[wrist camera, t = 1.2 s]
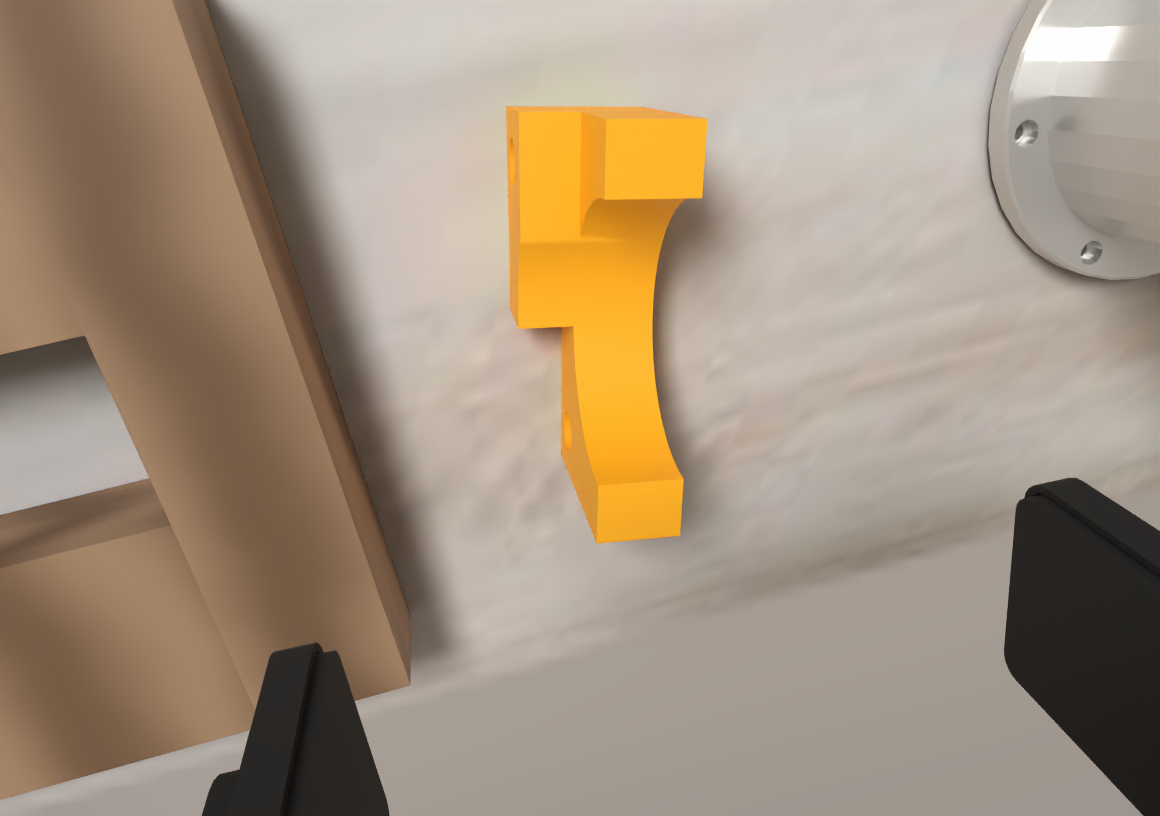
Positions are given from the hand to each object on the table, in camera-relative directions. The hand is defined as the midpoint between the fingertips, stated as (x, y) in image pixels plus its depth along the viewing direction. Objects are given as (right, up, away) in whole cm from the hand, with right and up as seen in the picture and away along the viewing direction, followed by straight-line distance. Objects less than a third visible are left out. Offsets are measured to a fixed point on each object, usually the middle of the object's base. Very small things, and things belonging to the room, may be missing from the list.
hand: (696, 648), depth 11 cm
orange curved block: (-2, +7, +18) cm, 19 cm away
